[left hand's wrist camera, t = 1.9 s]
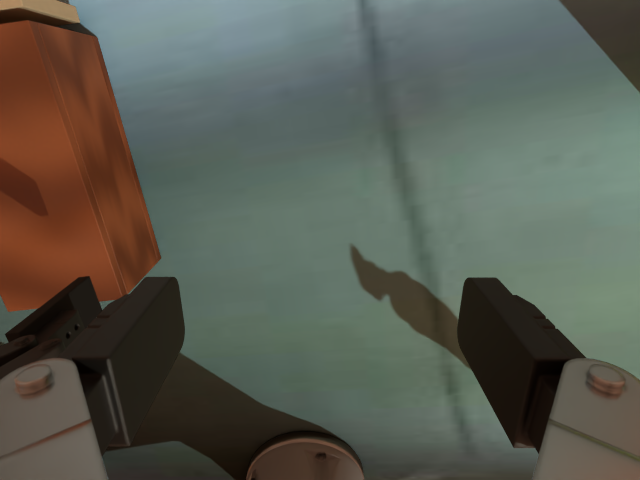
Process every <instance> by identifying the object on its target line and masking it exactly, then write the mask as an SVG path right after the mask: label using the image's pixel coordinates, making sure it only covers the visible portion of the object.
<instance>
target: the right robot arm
mask: <svg viewBox="0 0 640 480" xmlns="http://www.w3.org/2000/svg"><path fill="white" fill-rule="evenodd" d="M101 311H102V308H101V306H100V303H99V300H98V298H97V295H96V292H95V290H94V287H93V284H92V281H91V279H90V276H84V277H78V278H77V279H76V280H74V281H73V282H72V283H70V284H69V285H68V286H67V287H65V288H64V289H63V290H61V291H60V292H59V293H57V294H56V295H55V296H54V297H52V298H51V299H50V300H48V301H47V302H46V303H45V304H43V305H42V306H41V307H39V308H38V309H37V310H36V311H34V312H33V313H32V314H30V315H29V316H28V317H27V318H25V319H24V320H23V321H21V322H20V323H19V324H18V325H16V326H15V327H14V328H12V329H11V330H10V331H9V332H7V333H6V334H5V335H6V337H7V340H8V342H9V343H6V344H4V345H2V346H0V380H1V379H2V378H4V377H5V376H6V375H8V374H9V373H11V372H13V371H14V370H16V369H18V368H20V367H23V366H25V365H27V364H30V363H33V362H36V361H40V360H44V359H51V358H57V357H58V355H59V354H60V353H61V352H62V351H63V350H64V349H65V348H66V347H67V346H68V345H69V344H70V343H71V342H72V341H73V340H74V339H75V338H76V337H77V336H78V335H79V334H80V333H81V332H82V331H83V330H84V329H85V328H87V327H88V325H89V324H90V323H91V322H92V321H93V320H94V319H95V318H96V317H97V315H98V314H99V313H100V312H101ZM246 480H364V474H363V467H362V463H361V461H360V459H359V457H358V456H357V454H356V453H355V452H354V450H353V449H352V448H351V447H349V446H348V445H347V444H345V443H344V442H342V441H341V440H339V439H337V438H335V437H332V436H330V435H326V434H322V433H317V432H293V433H288V434H284V435H281V436H278V437H276V438H273V439H271V440H270V441H268V442H266V443H265V444H263V445H262V446H261V447H260V448H259V449H258V450H257V451H256V452H255V454H254V455H253V457H252V459H251V461H250V464H249V468H248V473H247V479H246Z"/></svg>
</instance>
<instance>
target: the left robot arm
mask: <svg viewBox="0 0 640 480" xmlns="http://www.w3.org/2000/svg"><path fill="white" fill-rule="evenodd" d="M184 335H185V325H184V318H183V311H182V304H181V298H180V291H179V285H178V281H177V279H176V278H175V277H146V278H144V279H143V281H142V282H141V283H140V284H139V285H138V286H137V287H136V288H135V289H134V290H133V291H132V293H131V294H126V295H124V296H122V297H120V298H119V299H117V300H115V301H113V302H112V303H110V304H108V305H107V306H106V307H105V308H104V309H103V310H102V311H101V312H100V313H99V314H98V315H97V318H95V319H94V320H93V321H92V322H91V323H90V324H89V325H88V328H85V329H84V330H83V331H82V332H81V333H80V334H79V335H78V336H77V337H76V338H75V339H74V340H73V341H72V342H71V343H70V344H69V345H68V346H67V347H66V348H65V349H64V350H63V351H62V352H61V353H60V354H59V355H58V357H57V358H51V359H44V360H40V361H36V362H33V363H30V364H27V365H25V366H23V367H20V368H18V369H16V370H14V371H13V372H11V373H9V374H8V375H6V376H5V377H4V378H2V379H1V380H0V480H108V477H107V474H106V470H105V467H104V463H103V459H102V456H103V454H104V453H105V451H106V449H107V448H108V446H130V444H131V442H132V440H133V439H134V437H135V435H136V433H137V431H138V429H139V427H140V425H141V423H142V422H143V420H144V418H145V416H146V414H147V412H148V410H149V408H150V407H151V405H152V403H153V401H154V399H155V397H156V395H157V393H158V391H159V390H160V388H161V386H162V384H163V382H164V380H165V378H166V376H167V375H168V373H169V371H170V369H171V367H172V365H173V363H174V361H175V359H176V358H177V356H178V354H179V352H180V350H181V348H182V345H183V342H184ZM457 335H458V342H459V346H460V348H461V351H462V352H463V354H464V356H465V358H466V360H467V362H468V364H469V365H470V367H471V369H472V371H473V373H474V375H475V377H476V378H477V380H478V382H479V384H480V386H481V388H482V390H483V392H484V393H485V395H486V397H487V399H488V401H489V403H490V405H491V406H492V408H493V410H494V412H495V414H496V416H497V418H498V419H499V421H500V423H501V425H502V427H503V429H504V431H505V432H506V434H507V436H508V438H509V440H510V442H511V444H512V445H513V447H514V448H536V450H537V452H538V453H539V456H538V459H537V463H536V467H535V470H534V474H533V477H532V480H640V380H639V379H638V378H636V377H635V376H634V375H632V374H631V373H629V372H627V371H626V370H624V369H622V368H620V367H617V366H615V365H613V364H610V363H607V362H604V361H600V360H596V359H589V358H586V357H585V356H584V355H583V354H582V353H581V352H580V351H579V350H578V349H577V348H576V347H575V346H574V345H573V344H572V343H571V342H570V341H569V340H568V339H567V338H566V337H565V336H564V335H563V334H562V333H561V332H560V331H559V330H558V329H555V326H554V325H553V324H552V323H551V322H550V321H549V320H548V319H546V316H545V315H544V314H543V313H542V312H541V311H540V310H539V309H538V308H537V307H536V306H535V305H533V304H532V303H530V302H528V301H526V300H524V299H523V298H521V297H519V296H517V295H512V294H511V293H510V291H509V290H508V289H507V288H506V287H505V286H504V285H503V284H502V283H501V282H500V281H499V280H498V279H497V278H467V279H466V280H465V282H464V286H463V292H462V299H461V306H460V313H459V320H458V327H457Z"/></svg>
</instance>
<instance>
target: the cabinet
mask: <svg viewBox="0 0 640 480" xmlns="http://www.w3.org/2000/svg"><path fill="white" fill-rule="evenodd" d="M160 259H161V256H160V252H159V249H158V245H157V242H156V239H155V235H154V232H153V228H152V225H151V221H150V218H149V214H148V211H147V207H146V204H145V201H144V197H143V194H142V190H141V187H140V183H139V180H138V176H137V173H136V169H135V166H134V163H133V159H132V156H131V152H130V149H129V145H128V142H127V138H126V135H125V132H124V128H123V125H122V121H121V118H120V114H119V111H118V107H117V104H116V100H115V97H114V94H113V90H112V87H111V83H110V80H109V76H108V73H107V69H106V66H105V62H104V59H103V56H102V52H101V49H100V45H99V42H98V38H97V37H95V36H91V35H87V34H83V33H79V32H75V31H71V30H67V29H63V28H58V27H54V26H50V25H46V24H42V23H38V22H34V21H30V20H25V21H18V22H11V23H4V24H0V295H1V297H2V299H3V302H4V304H5V306H6V308H7V310H8V312H9V311H18V310H27V309H36V308H39V307H41V306H42V305H43V304H45V303H46V302H47V301H48V300H50V299H51V298H52V297H54V296H55V295H56V294H57V293H59V292H60V291H61V290H63V289H64V288H65V287H67V286H68V285H69V284H70V283H72V282H73V281H74V280H76V279H77V278H78V277H84V276H90V279H91V281H92V284H93V287H94V290H95V292H96V295H97V298H98V300H99V301H108V300H117V299H119V298H120V297H122V296H124V295H126V294H128V293H129V292H130V291H131V290H132V289H133V288H134V287H135V286H136V285H137V283H138V282H139V281H140V280H141V279H142V278H143V277H144V276H145V275H146V274H147V273H148V272H149V271H150V270H151V269H152V268H153V267H154V265H155V264H156V263H157V262H158V261H159V260H160Z"/></svg>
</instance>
